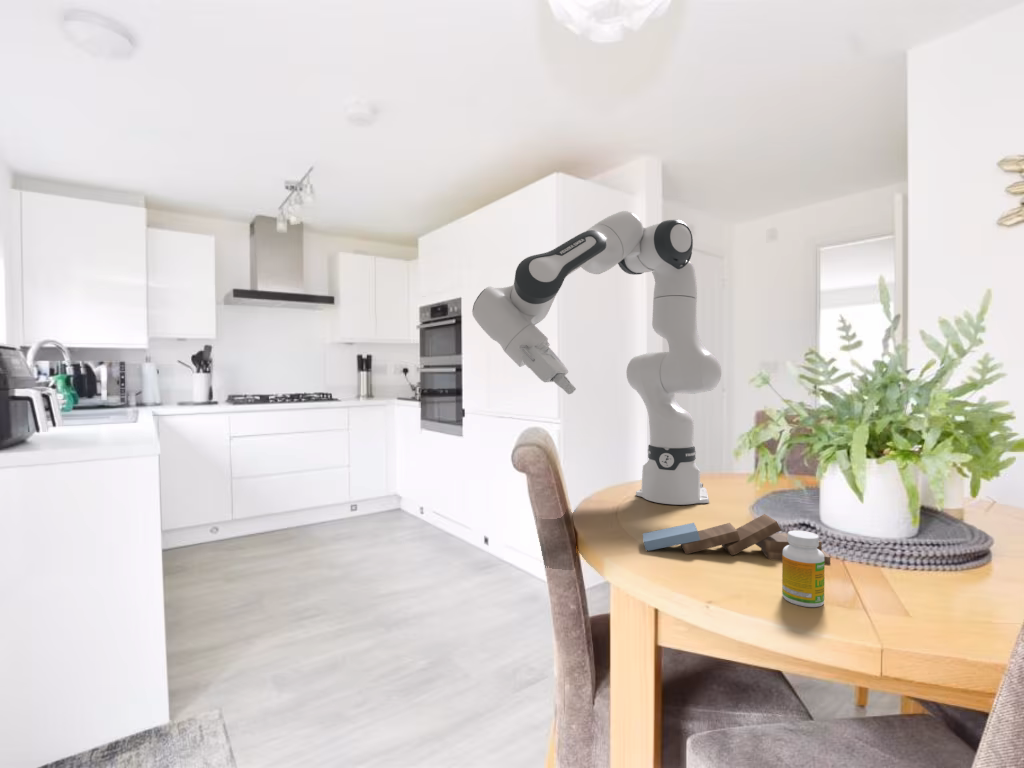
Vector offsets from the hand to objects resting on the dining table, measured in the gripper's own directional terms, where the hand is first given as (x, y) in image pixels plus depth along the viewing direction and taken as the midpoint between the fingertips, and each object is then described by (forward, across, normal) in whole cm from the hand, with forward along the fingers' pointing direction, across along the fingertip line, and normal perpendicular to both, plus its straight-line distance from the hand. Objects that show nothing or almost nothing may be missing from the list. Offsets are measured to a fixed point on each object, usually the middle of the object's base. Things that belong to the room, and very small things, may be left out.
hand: (573, 392), depth 112 cm
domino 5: (+46, -9, -5) cm, 47 cm away
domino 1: (+31, -10, +10) cm, 34 cm away
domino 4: (+44, -9, -6) cm, 46 cm away
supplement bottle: (+47, -29, -5) cm, 56 cm away
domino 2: (+36, -10, +5) cm, 37 cm away
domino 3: (+41, -9, -1) cm, 42 cm away
